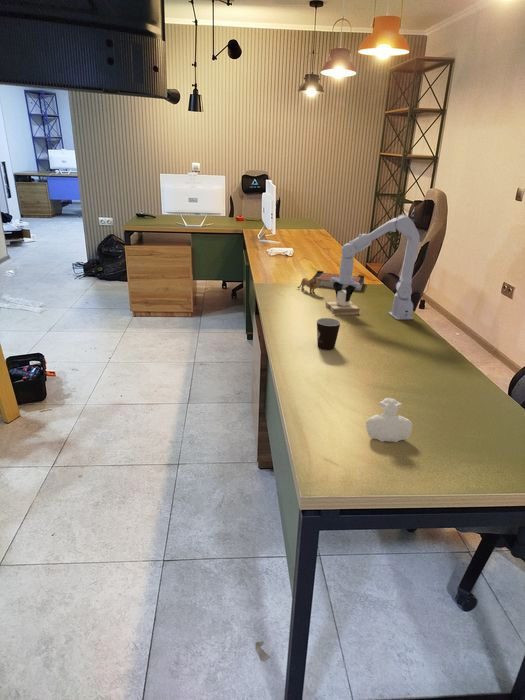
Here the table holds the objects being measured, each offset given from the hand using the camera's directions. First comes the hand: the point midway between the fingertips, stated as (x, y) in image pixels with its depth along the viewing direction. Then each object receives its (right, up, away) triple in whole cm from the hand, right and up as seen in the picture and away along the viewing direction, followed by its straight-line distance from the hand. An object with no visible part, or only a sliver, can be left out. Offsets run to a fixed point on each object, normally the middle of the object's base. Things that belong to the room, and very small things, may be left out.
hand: (342, 300), depth 219 cm
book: (+4, +12, +43) cm, 45 cm away
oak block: (0, -5, +2) cm, 5 cm away
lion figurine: (-13, +7, +27) cm, 31 cm away
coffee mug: (-13, -21, -38) cm, 45 cm away
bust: (-4, -46, -94) cm, 104 cm away
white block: (0, -2, +1) cm, 2 cm away
